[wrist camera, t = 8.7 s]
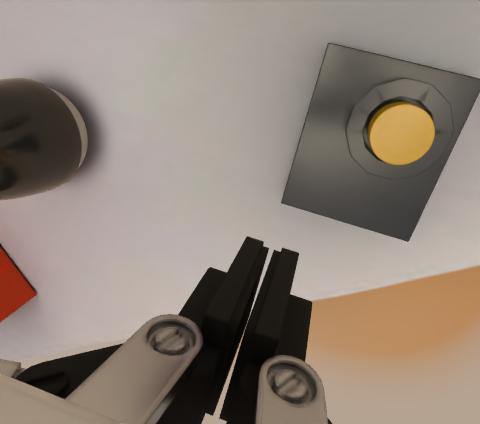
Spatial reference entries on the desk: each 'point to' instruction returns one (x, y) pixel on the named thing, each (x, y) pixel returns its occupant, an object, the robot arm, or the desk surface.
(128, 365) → the robot arm
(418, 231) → the desk surface
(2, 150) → the pump dispenser
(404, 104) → the button
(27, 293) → the file binder
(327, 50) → the console
